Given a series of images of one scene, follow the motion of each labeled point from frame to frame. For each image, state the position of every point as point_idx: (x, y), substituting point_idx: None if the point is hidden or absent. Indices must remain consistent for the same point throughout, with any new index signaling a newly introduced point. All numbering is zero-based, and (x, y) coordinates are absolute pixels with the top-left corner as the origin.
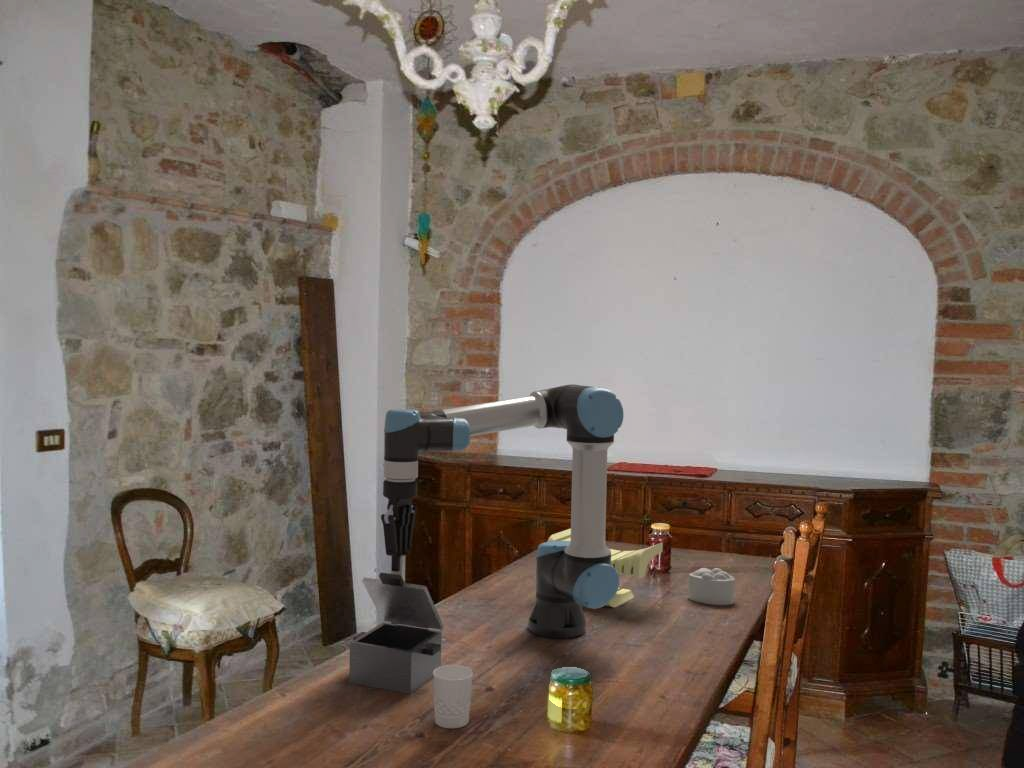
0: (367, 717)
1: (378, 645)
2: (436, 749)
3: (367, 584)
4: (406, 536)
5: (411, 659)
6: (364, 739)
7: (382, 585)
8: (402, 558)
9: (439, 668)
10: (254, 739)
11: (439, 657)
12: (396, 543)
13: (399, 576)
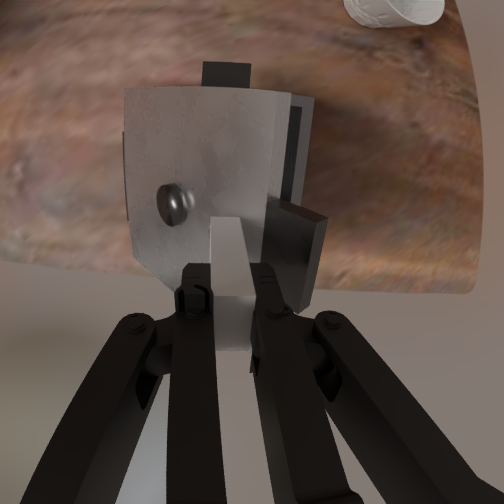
0: (390, 131)
1: (293, 188)
2: (443, 19)
3: None
4: (193, 405)
5: (309, 96)
6: (443, 113)
7: None
8: (251, 289)
9: (402, 14)
10: (451, 235)
11: None
12: (367, 372)
13: (320, 225)
